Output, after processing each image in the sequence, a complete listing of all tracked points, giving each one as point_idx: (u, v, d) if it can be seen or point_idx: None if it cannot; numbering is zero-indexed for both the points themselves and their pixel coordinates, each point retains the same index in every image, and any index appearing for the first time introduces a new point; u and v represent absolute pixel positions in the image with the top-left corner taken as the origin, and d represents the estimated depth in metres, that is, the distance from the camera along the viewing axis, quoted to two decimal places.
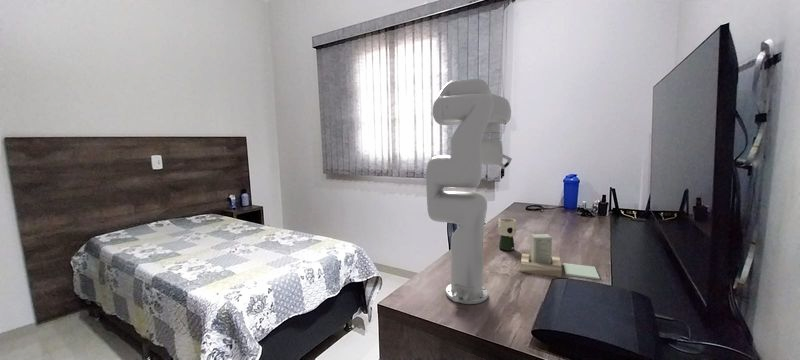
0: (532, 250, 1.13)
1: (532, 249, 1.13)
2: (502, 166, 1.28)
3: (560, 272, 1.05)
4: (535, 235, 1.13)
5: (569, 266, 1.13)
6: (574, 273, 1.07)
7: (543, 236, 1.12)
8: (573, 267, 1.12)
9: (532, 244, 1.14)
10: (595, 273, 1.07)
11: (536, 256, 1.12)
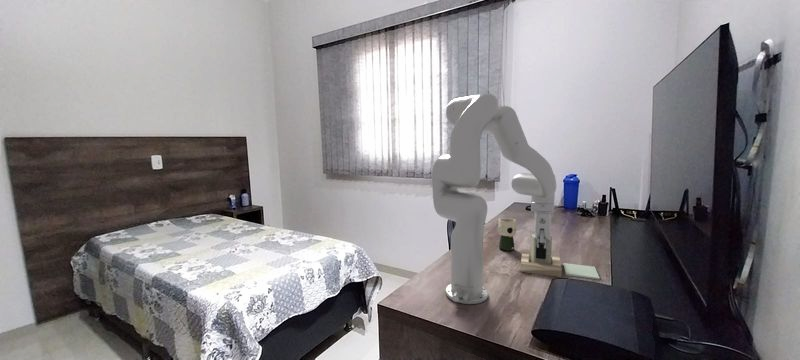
0: (532, 250, 1.13)
1: (532, 249, 1.13)
2: None
3: (560, 272, 1.05)
4: None
5: (569, 266, 1.13)
6: (574, 273, 1.07)
7: None
8: (573, 267, 1.12)
9: (532, 244, 1.14)
10: (595, 273, 1.07)
11: None
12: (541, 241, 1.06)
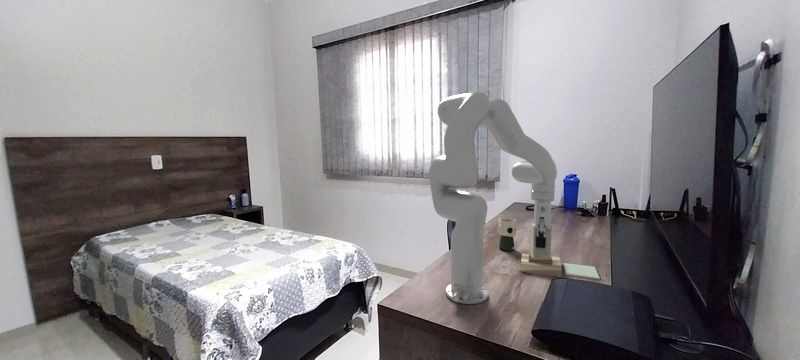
0: (531, 239, 1.13)
1: (532, 238, 1.12)
2: None
3: (560, 272, 1.05)
4: None
5: (569, 266, 1.13)
6: (574, 273, 1.07)
7: None
8: (573, 267, 1.12)
9: (531, 233, 1.13)
10: (595, 273, 1.07)
11: (535, 245, 1.11)
12: (541, 229, 1.05)
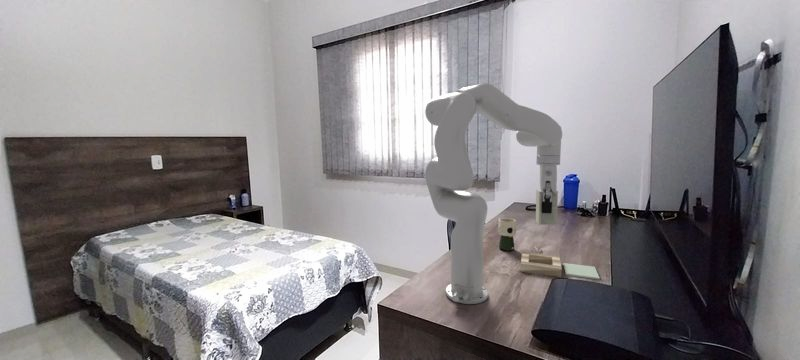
0: (537, 205, 1.11)
1: (538, 204, 1.10)
2: None
3: (560, 272, 1.05)
4: (540, 190, 1.11)
5: (569, 266, 1.13)
6: (574, 273, 1.07)
7: None
8: (573, 267, 1.12)
9: (537, 199, 1.11)
10: (595, 273, 1.07)
11: (541, 211, 1.09)
12: (547, 193, 1.04)
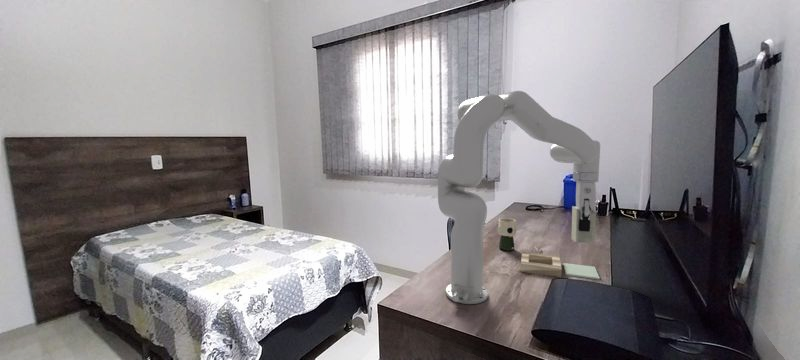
0: (574, 223, 1.08)
1: (575, 221, 1.07)
2: None
3: (560, 272, 1.05)
4: None
5: (569, 266, 1.13)
6: (574, 273, 1.07)
7: None
8: (573, 267, 1.12)
9: (573, 216, 1.08)
10: (595, 273, 1.07)
11: None
12: (586, 211, 1.00)
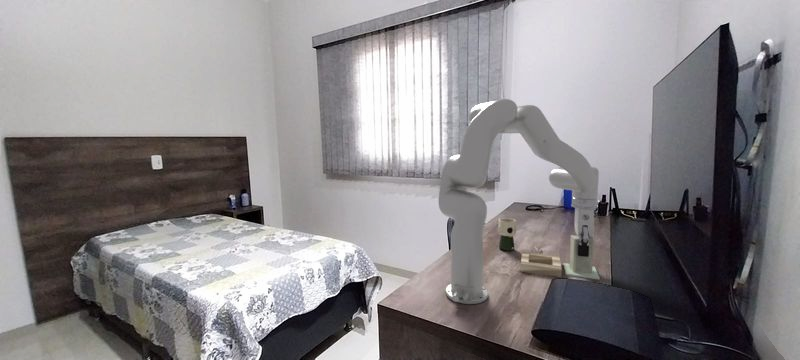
0: (572, 252, 1.09)
1: (572, 251, 1.08)
2: None
3: (560, 272, 1.05)
4: (575, 236, 1.09)
5: None
6: (574, 273, 1.07)
7: None
8: None
9: (571, 246, 1.09)
10: (595, 273, 1.07)
11: (576, 258, 1.07)
12: (585, 236, 1.01)
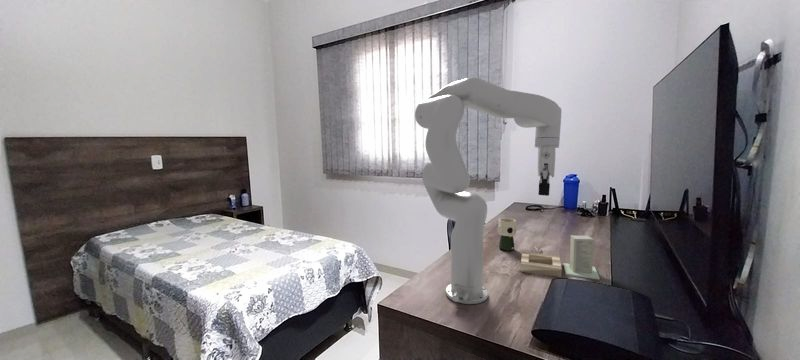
0: (572, 252, 1.09)
1: (572, 251, 1.08)
2: None
3: (560, 272, 1.05)
4: (575, 236, 1.09)
5: None
6: (574, 273, 1.07)
7: (584, 238, 1.07)
8: None
9: (571, 246, 1.09)
10: (595, 273, 1.07)
11: (576, 258, 1.07)
12: (544, 170, 0.98)
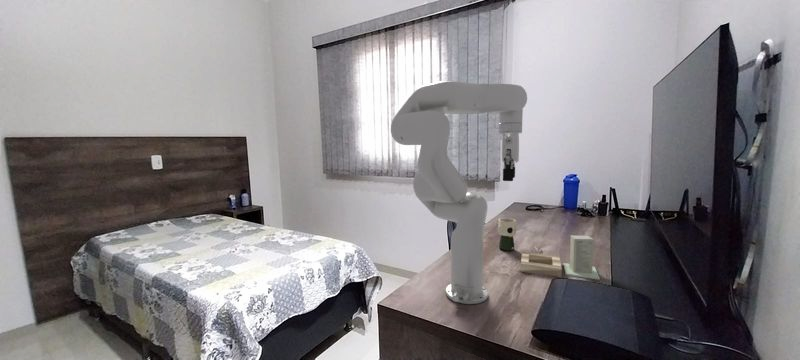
0: (572, 252, 1.09)
1: (572, 251, 1.08)
2: (514, 163, 1.11)
3: (560, 272, 1.05)
4: (575, 236, 1.09)
5: None
6: (574, 273, 1.07)
7: (584, 238, 1.07)
8: None
9: (571, 246, 1.09)
10: (595, 273, 1.07)
11: (576, 258, 1.07)
12: (507, 156, 0.98)
